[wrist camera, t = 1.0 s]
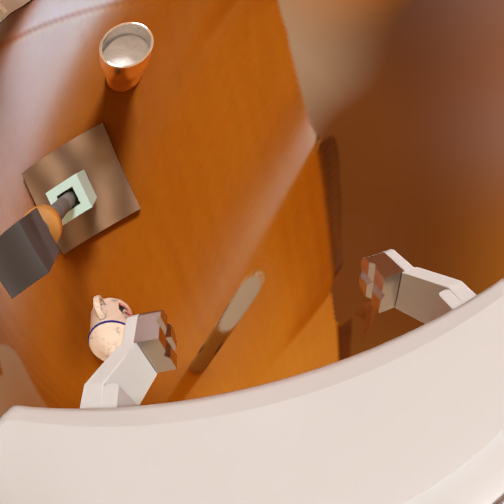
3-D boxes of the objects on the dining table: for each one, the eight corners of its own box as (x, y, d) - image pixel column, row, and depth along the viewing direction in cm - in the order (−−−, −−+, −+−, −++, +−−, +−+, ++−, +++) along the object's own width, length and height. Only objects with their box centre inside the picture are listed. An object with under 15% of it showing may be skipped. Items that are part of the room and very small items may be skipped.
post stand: (64, 251, 40) (20, 389, 14) (24, 172, 32) (-94, 220, 6) (140, 207, 44) (178, 302, 18) (103, 123, 36) (69, 69, 10)
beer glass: (152, 75, 37) (167, 45, 24) (119, 102, 36) (119, 80, 24) (128, 50, 33) (134, 11, 20) (95, 76, 32) (86, 45, 20)
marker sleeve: (71, 212, 36) (62, 226, 30) (58, 185, 34) (45, 193, 27) (97, 197, 38) (92, 207, 31) (84, 169, 35) (76, 173, 28)
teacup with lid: (140, 326, 52) (148, 364, 42) (101, 339, 48) (103, 379, 39) (118, 276, 46) (120, 309, 37) (76, 291, 43) (69, 327, 34)
